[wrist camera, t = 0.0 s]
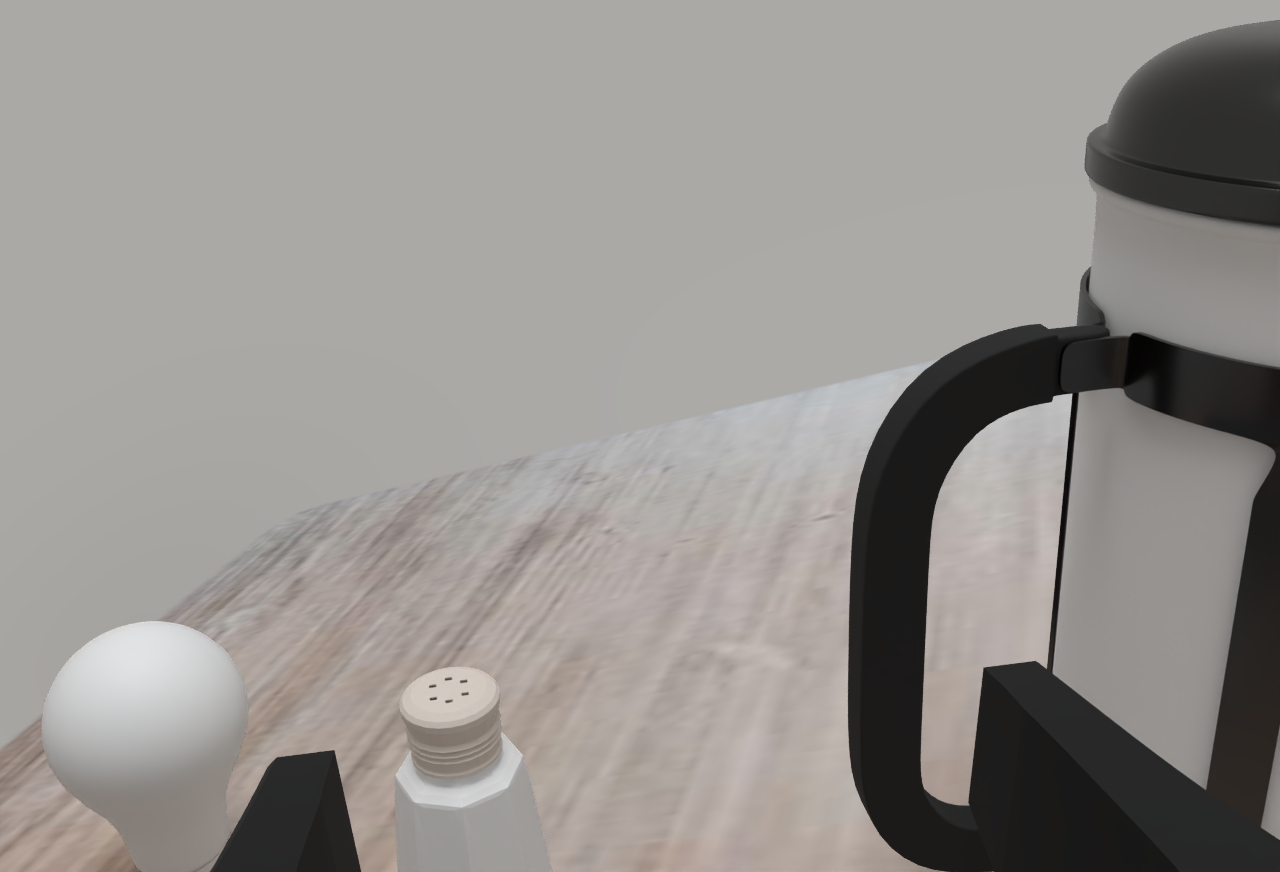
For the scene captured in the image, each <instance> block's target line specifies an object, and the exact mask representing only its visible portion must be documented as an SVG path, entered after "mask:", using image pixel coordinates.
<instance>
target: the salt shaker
mask: <svg viewBox="0 0 1280 872" xmlns="http://www.w3.org/2000/svg"><path fill="white" fill-rule="evenodd" d="M499 703H500V689H499V686H498V683H497V682H496V681H495V680H494V679H493V678H492V677H491V676H490V675H488V674H487V673H485V672H483V671H481V670H478V669H474V668H470V667H449V668H444V669H439V670H435V671H433V672H430V673H427V674H425V675H423V676H421V677H420V678H418V679H416V680H415V681H414V682H413V683H411V684H410V685H409V686H408V687H407V689H406V690H405V692H404V693H403V695H402V696H401V699H400V703H399V707H400V711H401V716H402V719H403V721H404V723H405V725H406V734H407V740H408V745H409V749H410V750H411V751H410V752H409V754H408V756H407V757H406V759H405V760H404V762H403V764H402V765H401V767H400V769H399V770H398V772H397V774H396V775H395V815H396V839H397V862H398V872H553V869H552V865H551V861H550V857H549V853H548V849H547V845H546V841H545V837H544V833H543V829H542V825H541V821H540V817H539V813H538V809H537V805H536V801H535V796H534V792H533V788H532V784H531V780H530V776H529V773H528V770H527V767H526V764H525V760H524V757H523V755H522V754H521V753H520V752H519V750H518V749H517V748H516V747H515V746H514V745H513V744H512V743H511V742H510V740H509V739H508V738H507V737H506V736H505V735H504V734H503V733H502V725H501V719H500V718H501V715H500V712H499V709H498V708H499Z"/></svg>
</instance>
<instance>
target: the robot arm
mask: <svg viewBox="0 0 1280 872" xmlns="http://www.w3.org/2000/svg"><path fill="white" fill-rule="evenodd" d="M969 805H970V808H971V811H972V813H973V816H974V819H975V822H976V824H977V827H978V830H979V833H980V835H981V838H982V841H983V844H984V846H985V849H986V852H987V854H988V857H989V859H990V862H991V864H992V867H993V869H994V872H1280V840H1279V839H1278V838H1276V837H1275V836H1273V835H1272V834H1270V833H1268V832H1267V831H1265V830H1264V829H1262V828H1261V827H1259V826H1258V825H1256V824H1255V823H1253V822H1252V821H1250V820H1249V819H1247V818H1246V817H1244V816H1243V815H1241V814H1240V813H1238V812H1237V811H1235V810H1234V809H1232V808H1231V807H1229V806H1228V805H1227V804H1225V803H1224V802H1222V801H1221V800H1219V799H1218V798H1217V797H1215V796H1214V795H1212V794H1211V793H1209V792H1208V791H1207V790H1205V789H1204V788H1202V787H1201V786H1199V785H1198V784H1197V783H1195V782H1194V781H1193V780H1191V779H1190V778H1188V777H1187V776H1186V775H1184V774H1183V773H1181V772H1180V771H1179V770H1177V769H1176V768H1175V767H1173V766H1172V765H1171V764H1169V763H1168V762H1167V761H1165V760H1164V759H1163V758H1161V757H1160V756H1159V755H1157V754H1156V753H1155V752H1153V751H1152V750H1151V749H1149V748H1148V747H1147V746H1145V745H1144V744H1143V743H1141V742H1140V741H1139V740H1137V739H1136V738H1135V737H1133V736H1132V735H1131V734H1130V733H1128V732H1127V731H1126V730H1124V729H1123V728H1122V727H1121V726H1119V725H1118V724H1117V723H1115V722H1114V721H1113V720H1111V719H1110V718H1109V717H1108V716H1106V715H1105V714H1104V713H1102V712H1101V711H1100V710H1099V709H1097V708H1096V707H1095V706H1094V705H1092V704H1091V703H1090V702H1088V701H1087V700H1086V699H1085V698H1083V697H1082V696H1081V695H1079V694H1078V693H1077V692H1076V691H1074V690H1073V689H1072V688H1071V687H1069V686H1068V685H1067V684H1065V683H1064V682H1063V681H1062V680H1060V679H1059V678H1058V677H1056V676H1055V675H1054V674H1052V673H1051V672H1050V671H1048V670H1047V669H1046V668H1044V667H1043V666H1042V665H1040V664H1039V663H1038V662H1036V661H1032V662H1024V663H1016V664H1008V665H1001V666H993V667H985V668H984V670H983V678H982V687H981V696H980V705H979V714H978V722H977V731H976V740H975V749H974V758H973V766H972V775H971V784H970V793H969ZM210 872H361V869H360V865H359V860H358V855H357V851H356V846H355V842H354V837H353V833H352V828H351V824H350V819H349V815H348V810H347V805H346V801H345V796H344V792H343V787H342V783H341V778H340V774H339V769H338V765H337V760H336V755H335V751H334V750H332V751H324V752H317V753H309V754H301V755H293V756H285V757H277V758H276V759H275V760H274V761H273V762H272V763H271V764H270V765H269V766H268V767H267V769H266V771H265V773H264V775H263V777H262V779H261V781H260V783H259V785H258V787H257V789H256V791H255V793H254V795H253V796H252V798H251V800H250V802H249V804H248V806H247V808H246V809H245V811H244V813H243V815H242V817H241V819H240V820H239V822H238V824H237V826H236V828H235V829H234V831H233V833H232V835H231V836H230V838H229V840H228V842H227V843H226V845H225V847H224V849H223V850H222V852H221V854H220V856H219V857H218V859H217V861H216V862H215V864H214V866H213V867H212V869H211V871H210Z"/></svg>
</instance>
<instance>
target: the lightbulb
mask: <svg viewBox="0 0 1280 872" xmlns="http://www.w3.org/2000/svg"><path fill="white" fill-rule="evenodd" d="M248 709H249V703H248V697H247V692H246V688H245V683H244V680H243V678H242V676H241V674H240V672H239V670H238V668H237V666H236V665H235V663H234V662H233V660H232V659H231V657H230V656H229V655H228V654H227V652H226V651H225V650H224V649H223V648H222V647H221V646H220V645H218V644H217V643H216V642H214V641H213V640H212V639H210V638H209V637H208V636H206V635H205V634H203V633H201V632H198V631H196V630H194V629H192V628H190V627H187V626H185V625H181V624H176V623H169V622H159V621H148V622H139V623H133V624H129V625H124V626H121V627H118V628H115V629H113V630H110V631H108V632H106V633H103V634H101V635H99V636H98V637H96V638H94V639H93V640H91V641H90V642H88V643H87V644H86V645H84V646H83V647H82V648H81V649H80V650H78V651H77V652H76V653H75V654H74V655H73V656H71V657H70V659H69V660H68V661H67V662H66V663H65V665H64V666H63V668H62V669H61V670H60V672H59V673H58V675H57V676H56V678H55V680H54V682H53V685H52V687H51V689H50V691H49V693H48V695H47V698H46V700H45V704H44V711H43V718H42V743H43V747H44V750H45V753H46V757H47V760H48V763H49V766H50V768H51V769H52V771H53V772H54V774H55V775H56V777H57V778H58V780H59V781H60V783H61V784H62V785H63V786H64V787H65V789H66V790H67V791H68V792H69V793H71V794H72V795H73V796H74V797H76V798H77V799H78V800H79V801H81V802H82V803H83V804H84V805H86V806H87V807H88V808H90V809H92V810H93V811H95V812H96V813H98V814H99V815H101V816H102V817H104V818H106V819H107V820H108V821H109V822H110V823H111V824H112V825H113V826H114V827H115V829H116V830H117V831H118V832H119V834H120V836H121V837H122V839H123V840H124V842H125V844H126V845H127V847H128V850H129V853H130V855H131V858H132V860H133V863H134V864H135V865H136V867H137V868H138V869H139V870H140V871H142V872H210V871H211V869H212V867H213V866H214V864H215V862H216V861H217V859H218V857H219V856H220V854H221V852H222V850H223V849H224V847H225V845H226V844H225V843H226V841H227V839H228V834H229V824H228V817H227V811H226V801H227V787H228V782H229V778H230V775H231V773H232V771H233V768H234V766H235V763H236V761H237V759H238V756H239V753H240V750H241V747H242V744H243V740H244V737H245V734H246V730H247V725H248Z"/></svg>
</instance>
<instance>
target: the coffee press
mask: <svg viewBox="0 0 1280 872" xmlns="http://www.w3.org/2000/svg"><path fill="white" fill-rule="evenodd" d="M1085 171H1086V173H1087V175H1088V176H1089V182H1090V184H1091V187H1092V188H1093V190H1094V191H1095V192H1096V194H1097V203H1096V204H1097V205H1096V220H1095V230H1094V231H1095V232H1094V242H1093V252H1092V262H1091V267H1090V268H1089V269H1088V270H1087V271H1086V272H1085V273H1084V275H1083V276H1082V279H1081V284H1080V294H1079V307H1078V316H1077V326H1074V327H1065V328H1055V329H1047V328H1046V327H1044V326H1043V325H1041V324H1035V325H1026V326H1020V327H1016V328H1012V329H1008V330H1004V331H1000V332H997V333H994V334H991V335H988V336H986V337H983V338H980V339H978V340H975V341H973V342H971V343H969V344H966V345H964V346H962V347H960V348H958V349H957V350H955V351H953V352H951V353H949V354H947V355H946V356H944V357H942V358H941V359H940V360H938V361H937V362H935V363H934V364H933V365H931V366H930V367H929V368H927V369H926V370H925V371H923V372H922V373H921V374H920V375H919V376H918V377H917V378H916V379H915V380H914V381H913V382H912V383H911V384H910V385H909V386H908V387H907V388H906V390H905V391H904V392H903V394H902V395H901V396H900V397H899V399H898V400H897V401H896V403H895V404H894V405H893V407H892V408H891V409H890V411H889V413H888V415H887V416H886V418H885V420H884V421H883V423H882V425H881V426H880V428H879V430H878V432H877V434H876V436H875V439H874V441H873V443H872V445H871V448H870V450H869V452H868V455H867V458H866V461H865V464H864V468H863V471H862V474H861V478H860V483H859V488H858V493H857V498H856V505H855V514H854V522H853V535H852V550H851V573H850V605H849V661H848V731H849V751H850V760H851V768H852V773H853V778H854V782H855V786H856V789H857V791H858V794H859V796H860V799H861V801H862V803H863V805H864V807H865V809H866V811H867V813H868V815H869V817H870V819H871V821H872V822H873V824H874V826H875V827H876V829H877V831H878V832H879V834H880V835H881V837H882V838H883V839H884V840H885V841H886V842H887V843H888V845H889V846H890V847H891V848H892V849H894V850H895V851H896V852H897V853H899V854H900V855H901V856H903V857H904V858H906V859H908V860H910V861H912V862H913V863H915V864H917V865H920V866H923V867H927V868H930V869H934V870H939V871H947V872H991V871H994V869H993V867H992V864H991V862H990V859H989V857H988V854H987V852H986V849H985V846H984V844H983V841H982V838H981V835H980V833H979V830H978V827H977V824H976V822H975V819H974V816H973V813H972V811H971V808H970V806H959V805H952V804H948V803H945V802H942V801H940V800H938V799H936V798H935V797H933V796H931V795H930V794H929V793H928V792H927V791H926V790H924V788H923V784H922V778H921V761H920V759H921V727H922V703H923V680H924V658H925V635H926V613H927V592H928V572H929V554H930V539H931V528H932V520H933V514H934V509H935V504H936V501H937V498H938V494H939V491H940V489H941V486H942V484H943V482H944V479H945V477H946V475H947V473H948V471H949V470H950V468H951V466H952V465H953V463H954V461H955V460H956V458H957V457H958V455H959V454H960V453H961V451H962V450H963V449H964V447H965V446H966V445H967V444H968V443H969V442H970V441H971V440H972V439H973V437H974V436H975V435H976V434H977V433H979V432H980V431H981V430H982V429H984V428H985V427H986V426H987V425H989V424H990V423H992V422H994V421H995V420H997V419H998V418H1000V417H1002V416H1005V415H1007V414H1009V413H1011V412H1014V411H1017V410H1019V409H1023V408H1026V407H1029V406H1033V405H1038V404H1043V403H1049V402H1052V400H1053V397H1054V396H1057V395H1063V394H1071V393H1073V395H1072V406H1071V417H1070V427H1069V438H1068V449H1067V460H1066V471H1065V481H1064V492H1063V503H1062V514H1061V525H1060V535H1059V546H1058V557H1057V568H1056V578H1055V589H1054V600H1053V610H1052V621H1051V632H1050V643H1049V653H1048V664H1047V670H1048V671H1050V672H1051V673H1052V674H1054V675H1055V676H1056V677H1058V678H1059V679H1060V680H1062V681H1063V682H1064V683H1065V684H1067V685H1068V686H1069V687H1071V688H1072V689H1073V690H1074V691H1076V692H1077V693H1078V694H1079V695H1081V696H1082V697H1083V698H1085V699H1086V700H1087V701H1088V702H1090V703H1091V704H1092V705H1094V706H1095V707H1096V708H1097V709H1099V710H1100V711H1101V712H1102V713H1104V714H1105V715H1106V716H1108V717H1109V718H1110V719H1111V720H1113V721H1114V722H1115V723H1117V724H1118V725H1119V726H1121V727H1122V728H1123V729H1124V730H1126V731H1127V732H1128V733H1130V734H1131V735H1132V736H1133V737H1135V738H1136V739H1137V740H1139V741H1140V742H1141V743H1143V744H1144V745H1145V746H1147V747H1148V748H1149V749H1151V750H1152V751H1153V752H1155V753H1156V754H1157V755H1159V756H1160V757H1161V758H1163V759H1164V760H1165V761H1167V762H1168V763H1169V764H1171V765H1172V766H1173V767H1175V768H1176V769H1177V770H1179V771H1180V772H1181V773H1183V774H1184V775H1186V776H1187V777H1188V778H1190V779H1191V780H1193V781H1194V782H1195V783H1197V784H1198V785H1199V786H1201V787H1202V788H1204V789H1205V790H1207V791H1208V792H1209V793H1211V794H1212V795H1214V796H1215V797H1217V798H1218V799H1219V800H1221V801H1222V802H1224V803H1225V804H1227V805H1228V806H1229V807H1231V808H1232V809H1234V810H1235V811H1237V812H1238V813H1240V814H1241V815H1243V816H1244V817H1246V818H1247V819H1249V820H1250V821H1252V822H1253V823H1255V824H1256V825H1258V826H1259V827H1261V828H1262V829H1264V830H1265V831H1267V832H1268V833H1270V834H1272V835H1273V836H1275V837H1276V838H1278V839H1279V840H1280V20H1276V21H1268V22H1259V23H1252V24H1246V25H1240V26H1234V27H1229V28H1225V29H1220V30H1216V31H1213V32H1209V33H1205V34H1202V35H1199V36H1196V37H1193V38H1190V39H1188V40H1186V41H1183V42H1181V43H1178V44H1176V45H1174V46H1172V47H1170V48H1169V49H1167V50H1165V51H1163V52H1162V53H1160V54H1158V55H1157V56H1155V57H1154V58H1152V59H1151V60H1149V61H1148V62H1147V63H1145V64H1144V65H1143V66H1142V67H1141V68H1140V69H1139V70H1138V71H1136V73H1134V74H1133V75H1132V77H1131V78H1130V79H1129V80H1128V81H1127V83H1126V84H1125V85H1124V87H1123V88H1122V90H1121V92H1120V94H1119V96H1118V97H1117V100H1116V102H1115V104H1114V106H1113V109H1112V111H1111V114H1110V117H1109V120H1108V123H1106V124H1104V125H1101V126H1099V127H1098V128H1096V129H1094V130H1093V131H1092V132H1091V133H1090V134H1089V136H1088V138H1087V143H1086V155H1085Z"/></svg>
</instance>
